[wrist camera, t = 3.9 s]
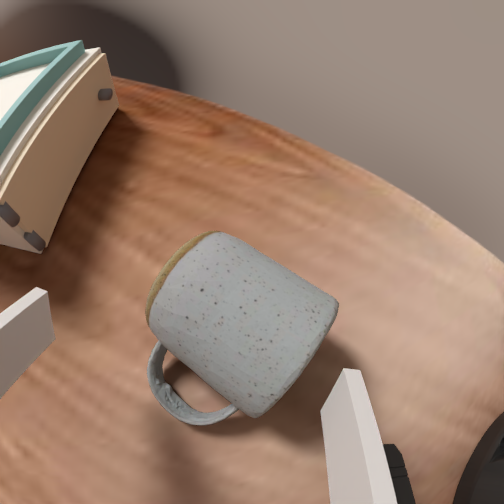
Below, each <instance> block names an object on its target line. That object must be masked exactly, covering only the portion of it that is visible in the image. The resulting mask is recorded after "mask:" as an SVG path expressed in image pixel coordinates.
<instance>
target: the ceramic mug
mask: <svg viewBox="0 0 504 504" xmlns="http://www.w3.org/2000/svg"><path fill="white" fill-rule="evenodd" d="M338 308H339V303H338V301H337V300H336V299H335V298H334V297H332V296H330V295H329V294H327V293H325V292H324V291H322V290H321V289H319V288H317V287H316V286H314V285H312V284H311V283H309V282H308V281H306V280H305V279H303V278H301V277H300V276H298V275H297V274H295V273H293V272H292V271H290V270H288V269H287V268H285V267H284V266H282V265H281V264H279V263H277V262H275V261H274V260H272V259H271V258H269V257H267V256H266V255H264V254H262V253H261V252H259V251H258V250H256V249H255V248H253V247H252V246H250V245H249V244H247V243H245V242H244V241H242V240H240V239H238V238H236V237H233V236H231V235H228V234H226V233H223V232H220V231H208V232H205V233H202V234H200V235H198V236H196V237H194V238H192V239H191V240H189V241H188V242H186V243H185V244H184V245H183V246H182V247H181V248H180V249H178V250H177V251H176V252H175V253H174V255H173V256H172V257H171V258H170V259H169V260H168V262H167V263H166V264H165V265H164V267H163V268H162V270H161V272H160V273H159V275H158V276H157V278H156V280H155V281H154V283H153V285H152V287H151V289H150V292H149V295H148V297H147V303H146V310H145V314H146V320H147V324H148V325H149V327H150V329H151V331H152V332H153V333H154V335H155V336H156V337H157V339H158V340H159V341H158V342H157V343H156V345H155V347H154V348H153V350H152V353H151V355H150V357H149V361H148V367H147V376H148V381H149V385H150V387H151V390H152V393H153V394H154V396H155V397H156V399H157V400H158V401H159V403H160V404H161V405H162V407H163V408H164V409H165V410H167V411H168V412H169V413H170V414H171V415H172V416H174V417H175V418H177V419H178V420H180V421H182V422H185V423H188V424H192V425H208V424H214V423H217V422H219V421H222V420H224V419H226V418H228V417H229V416H231V415H232V414H234V413H235V412H236V411H238V410H239V409H240V410H241V411H242V412H244V413H245V414H246V415H248V416H250V417H253V418H258V417H260V416H262V415H263V414H264V413H266V412H267V411H268V410H269V409H270V408H272V407H273V406H274V405H275V403H276V402H277V401H279V400H280V398H281V397H282V396H283V395H284V394H285V393H286V391H287V390H288V389H289V388H290V387H291V386H292V385H293V383H294V382H295V381H296V379H297V378H298V377H299V376H300V375H301V373H302V372H303V370H304V369H305V367H306V366H307V365H308V363H309V362H310V360H311V359H312V358H313V356H314V355H315V353H316V351H317V350H318V348H319V347H320V345H321V343H322V341H323V340H324V338H325V336H326V335H327V333H328V331H329V330H330V328H331V326H332V324H333V323H334V321H335V318H336V316H337V313H338ZM167 349H168V350H169V351H170V352H171V353H172V354H173V355H174V356H175V357H177V358H178V359H179V360H180V361H182V362H183V363H184V364H185V365H187V366H188V367H189V368H190V369H192V370H193V371H194V372H195V373H196V374H197V375H198V376H199V377H201V378H202V379H203V380H204V381H205V382H206V383H208V384H209V385H210V386H211V387H212V388H213V389H215V390H216V391H217V392H218V393H220V394H221V395H222V396H223V397H225V398H226V399H227V400H228V401H230V402H231V403H232V404H230V405H229V406H227V407H226V408H224V409H221V410H219V411H216V412H211V413H203V412H199V411H197V410H195V409H192V408H191V407H190V406H188V405H187V404H186V403H185V402H184V401H183V400H182V399H181V398H180V397H179V396H178V395H177V394H176V393H175V392H174V391H173V390H172V387H171V386H170V385H169V384H167V383H166V382H165V380H164V377H163V369H162V365H163V361H164V356H165V354H166V352H167Z"/></svg>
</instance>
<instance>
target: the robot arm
mask: <svg viewBox="0 0 504 504" xmlns="http://www.w3.org/2000/svg"><path fill="white" fill-rule="evenodd" d="M54 340H55V334H54V329H53V323H52V318H51V312H50V305H49V298H48V291H45V290H43V289H40V288H38V287H36V288H34V289H33V290H31V291H30V292H29V293H27V294H26V295H25V296H23V297H22V298H20V299H19V300H18V301H16V302H15V303H14V304H12V305H11V306H10V307H8V308H7V309H6V310H4V311H3V312H2V313H0V399H1V397H2V396H3V395H4V394H5V393H6V392H7V391H8V389H9V388H10V387H11V386H12V385H13V384H14V383H15V382H16V380H17V379H18V378H19V377H20V376H21V375H22V374H23V373H24V372H25V371H26V369H27V368H28V367H29V366H30V365H31V364H32V363H33V362H34V361H35V360H36V359H37V358H38V357H39V356H40V355H41V353H42V352H43V351H44V350H45V349H46V348H47V347H48V346H49V345H50V344H51V343H52V342H53V341H54ZM320 412H321V420H322V428H323V436H324V445H325V454H326V463H327V473H328V483H329V494H330V504H415V500H414V496H413V492H412V488H411V485H410V481H409V477H407V475H408V474H407V470H406V468H405V464H404V460H403V457H402V454H401V453H400V451H399V450H398V449H397V447H396V446H395V445H394V444H382V440H381V437H380V433H379V430H378V426H377V423H376V419H375V416H374V413H373V409H372V406H371V403H370V399H369V396H368V393H367V390H366V387H365V384H364V380H363V377H362V374H361V371H360V370H355V369H347V368H343V370H342V372H341V374H340V376H339V378H338V380H337V382H336V383H335V385H334V387H333V389H332V391H331V393H330V395H329V396H328V398H327V400H326V402H325V404H324V405H323V407H322V409H321V411H320ZM453 504H504V412H503V413H502V414H501V415H500V416H499V417H498V418H497V419H496V420H495V421H494V422H493V424H492V425H491V426H490V427H489V429H488V430H487V431H486V433H485V434H484V436H483V437H482V439H481V440H480V442H479V444H478V445H477V447H476V449H475V450H474V452H473V454H472V456H471V458H470V460H469V462H468V464H467V466H466V468H465V470H464V473H463V475H462V477H461V480H460V483H459V485H458V488H457V491H456V494H455V498H454V502H453Z"/></svg>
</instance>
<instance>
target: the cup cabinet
mask: <svg viewBox="0 0 504 504" xmlns="http://www.w3.org/2000/svg"><path fill="white" fill-rule="evenodd" d="M118 107H119V103H118V100H117V96H116V92H115V89H114V85H113V81H112V78H111V74H110V70H109V66H108V62H107V58H106V54H105V53H102V54H101V49H100V48H94V49H88V50H85V49H84V45H83V42H82V40H80V41H74V42H70V43H66V44H61V45H57V46H53V47H50V48H46V49H43V50H39V51H36V52H32V53H29V54H26V55H23V56H20V57H17V58H14V59H11V60H9V61H6V62H3V63H1V64H0V244H2V245H6V246H10V247H14V248H18V249H22V250H26V251H31V252H35V253H39V254H41V253H42V251H43V249H44V248H45V247H47V246H48V243H49V241H50V238H51V235H52V233H53V230H54V228H55V225H56V223H57V220H58V218H59V216H60V213H61V211H62V209H63V206H64V204H65V202H66V200H67V198H68V195H69V193H70V191H71V189H72V187H73V185H74V183H75V181H76V179H77V177H78V175H79V173H80V171H81V169H82V167H83V165H84V163H85V161H86V160H87V158H88V156H89V154H90V152H91V151H92V149H93V147H94V145H95V144H96V142H97V140H98V138H99V137H100V135H101V133H102V132H103V130H104V128H105V127H106V125H107V124H108V122H109V120H110V119H111V117H112V116H113V114H114V113H115V111H116V110H117V108H118Z"/></svg>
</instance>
